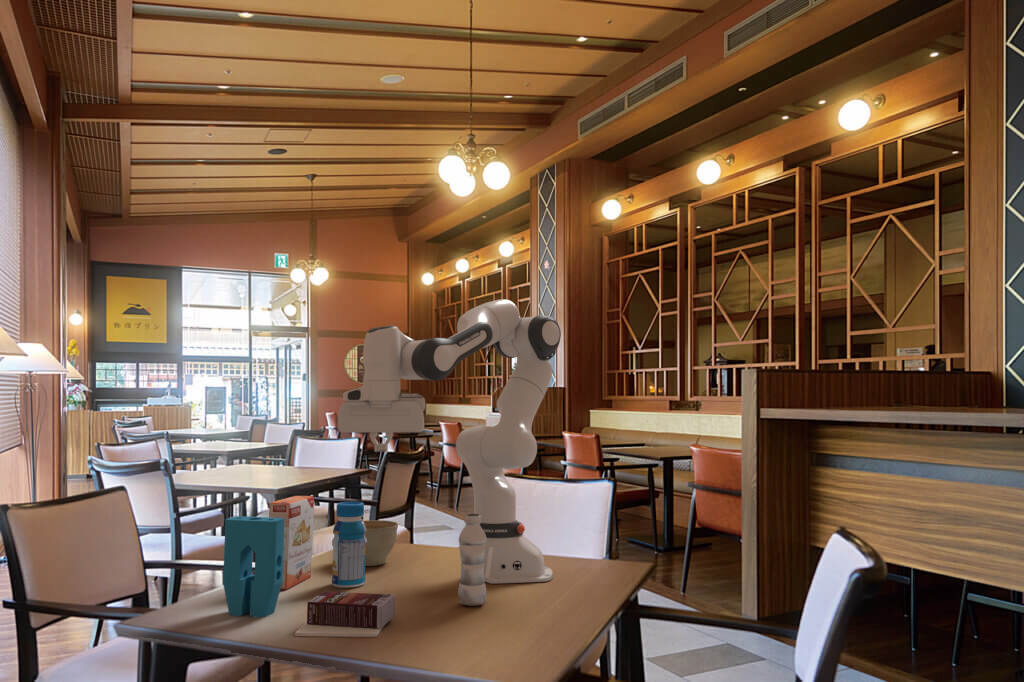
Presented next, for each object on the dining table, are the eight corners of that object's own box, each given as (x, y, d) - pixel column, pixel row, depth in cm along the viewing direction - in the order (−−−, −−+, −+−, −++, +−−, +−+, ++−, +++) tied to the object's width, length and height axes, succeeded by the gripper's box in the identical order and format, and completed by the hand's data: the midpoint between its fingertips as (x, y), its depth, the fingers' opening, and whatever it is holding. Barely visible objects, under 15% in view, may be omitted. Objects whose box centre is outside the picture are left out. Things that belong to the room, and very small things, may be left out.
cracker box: (287, 590, 177) (290, 502, 178) (264, 589, 178) (267, 502, 179) (313, 577, 190) (315, 495, 192) (291, 575, 191) (293, 494, 193)
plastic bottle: (465, 610, 161) (466, 518, 163) (453, 602, 167) (454, 513, 169) (491, 606, 164) (492, 516, 166) (478, 599, 170) (479, 511, 172)
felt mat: (389, 615, 157) (389, 612, 157) (377, 636, 143) (377, 633, 143) (315, 615, 157) (315, 612, 157) (295, 636, 143) (295, 632, 143)
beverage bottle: (349, 590, 177) (351, 506, 179) (323, 586, 181) (325, 503, 183) (372, 583, 184) (374, 502, 186) (347, 578, 189) (349, 500, 190)
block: (283, 611, 159) (286, 518, 161) (271, 618, 155) (274, 521, 156) (233, 608, 162) (236, 516, 163) (220, 614, 157) (223, 519, 158)
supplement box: (381, 604, 146) (306, 601, 148) (381, 629, 145) (306, 626, 148) (395, 592, 154) (324, 590, 157) (395, 616, 154) (323, 613, 156)
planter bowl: (408, 560, 211) (408, 521, 212) (375, 572, 196) (376, 530, 197) (361, 555, 217) (362, 517, 218) (327, 566, 203) (328, 526, 204)
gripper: (426, 393, 178) (426, 450, 177) (342, 393, 178) (341, 450, 177) (423, 393, 172) (423, 452, 171) (336, 393, 171) (335, 453, 170)
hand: (381, 451), depth 174 cm, fingers closed
